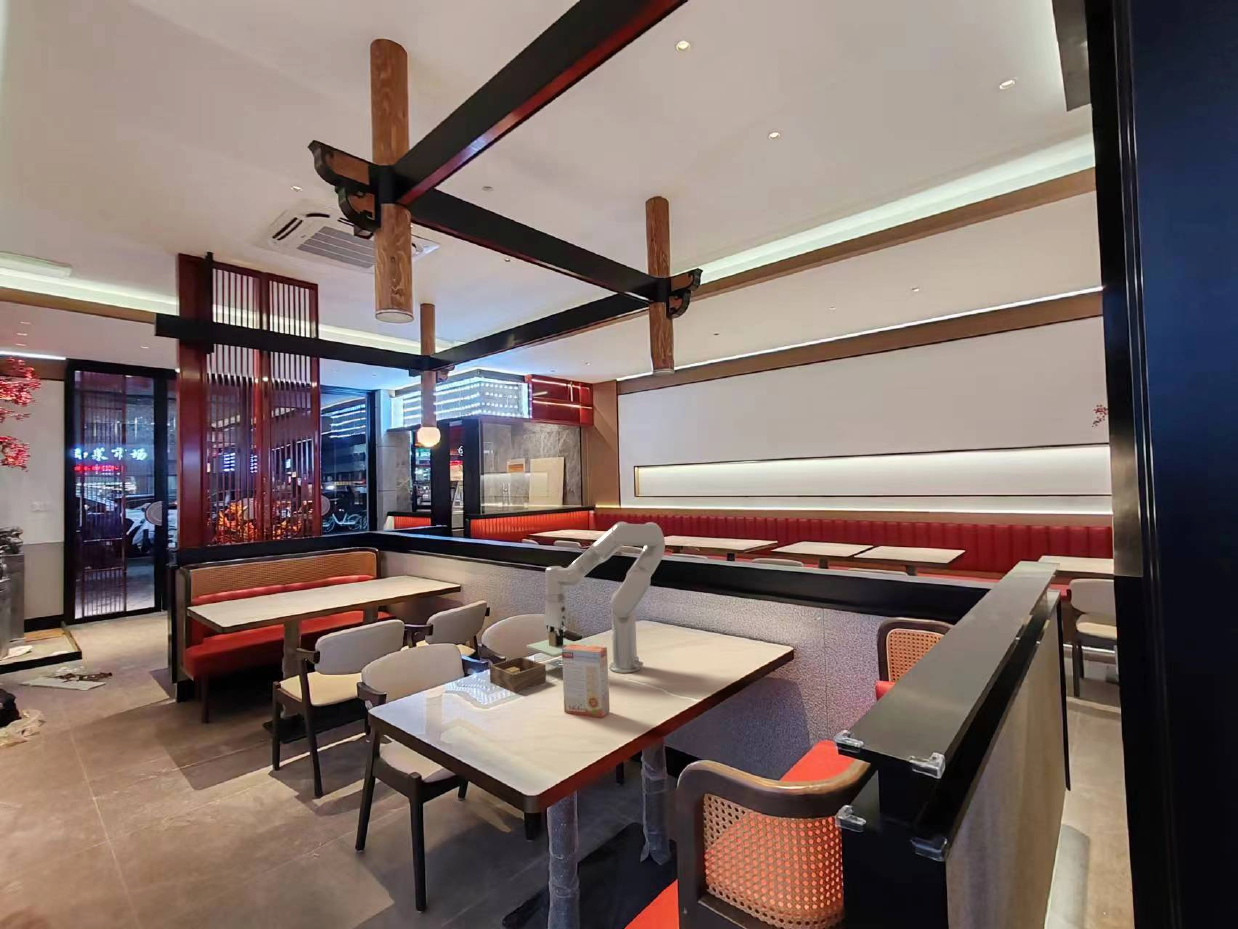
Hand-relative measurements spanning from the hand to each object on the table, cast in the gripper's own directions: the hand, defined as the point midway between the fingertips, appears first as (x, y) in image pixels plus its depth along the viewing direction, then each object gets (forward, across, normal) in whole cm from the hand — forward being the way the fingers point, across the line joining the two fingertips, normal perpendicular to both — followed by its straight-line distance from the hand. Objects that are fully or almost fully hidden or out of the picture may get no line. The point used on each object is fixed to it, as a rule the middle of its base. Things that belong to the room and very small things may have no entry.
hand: (556, 643), depth 221 cm
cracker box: (+11, -39, +19) cm, 45 cm away
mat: (+11, 0, 0) cm, 11 cm away
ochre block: (+10, +3, +19) cm, 21 cm away
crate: (+11, 0, +19) cm, 22 cm away
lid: (+2, 0, 0) cm, 2 cm away
